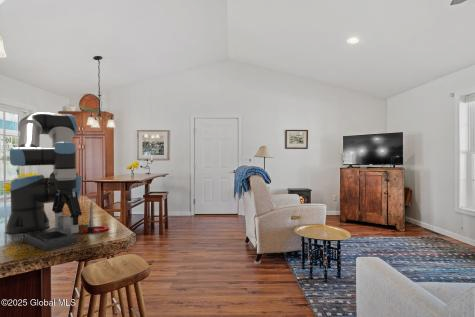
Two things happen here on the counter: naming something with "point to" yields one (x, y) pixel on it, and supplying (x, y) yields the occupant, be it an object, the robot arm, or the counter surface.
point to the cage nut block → (64, 223)
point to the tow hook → (91, 228)
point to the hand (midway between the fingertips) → (66, 230)
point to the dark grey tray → (50, 238)
